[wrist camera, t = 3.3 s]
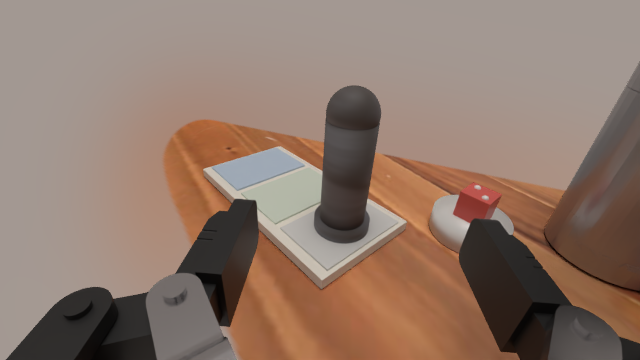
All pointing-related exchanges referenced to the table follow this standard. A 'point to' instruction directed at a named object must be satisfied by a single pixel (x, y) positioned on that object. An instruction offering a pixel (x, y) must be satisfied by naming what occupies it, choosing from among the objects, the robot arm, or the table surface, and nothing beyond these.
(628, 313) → the table surface
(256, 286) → the table surface
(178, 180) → the table surface
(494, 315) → the robot arm
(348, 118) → the charcoal pawn
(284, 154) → the game board
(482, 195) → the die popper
